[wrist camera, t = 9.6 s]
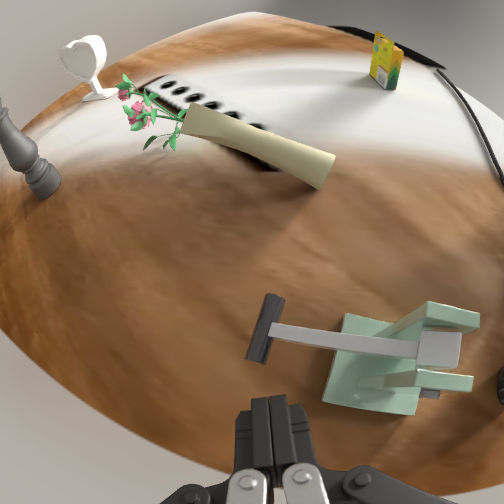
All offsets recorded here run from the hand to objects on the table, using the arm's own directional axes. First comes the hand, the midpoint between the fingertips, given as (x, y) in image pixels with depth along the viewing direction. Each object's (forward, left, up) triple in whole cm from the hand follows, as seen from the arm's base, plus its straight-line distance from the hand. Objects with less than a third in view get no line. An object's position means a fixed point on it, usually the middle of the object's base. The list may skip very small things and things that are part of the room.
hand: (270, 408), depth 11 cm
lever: (-5, +4, -7) cm, 10 cm away
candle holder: (-17, -49, -15) cm, 54 cm away
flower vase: (-28, -18, -15) cm, 36 cm away
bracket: (-5, +9, -15) cm, 19 cm away
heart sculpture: (-47, -60, -15) cm, 77 cm away
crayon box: (-60, +7, -15) cm, 62 cm away
